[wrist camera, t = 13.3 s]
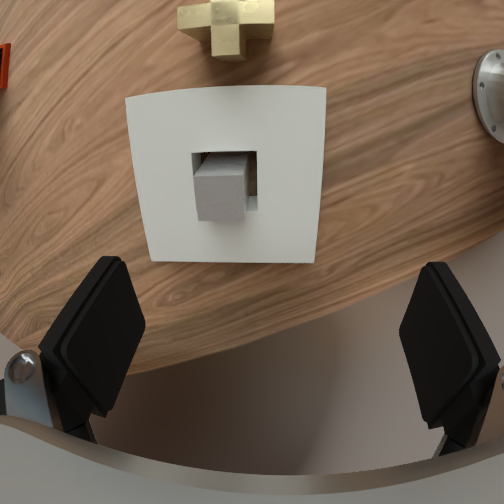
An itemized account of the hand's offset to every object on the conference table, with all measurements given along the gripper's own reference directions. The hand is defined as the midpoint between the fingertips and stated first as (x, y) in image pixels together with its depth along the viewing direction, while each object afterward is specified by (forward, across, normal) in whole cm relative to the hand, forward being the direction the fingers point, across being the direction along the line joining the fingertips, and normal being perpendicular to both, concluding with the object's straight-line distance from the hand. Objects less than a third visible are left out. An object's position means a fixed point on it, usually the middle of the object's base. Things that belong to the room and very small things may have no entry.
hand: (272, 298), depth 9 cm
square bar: (+24, +5, +4) cm, 24 cm away
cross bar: (+24, +4, -12) cm, 27 cm away
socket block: (+23, +5, +3) cm, 24 cm away
